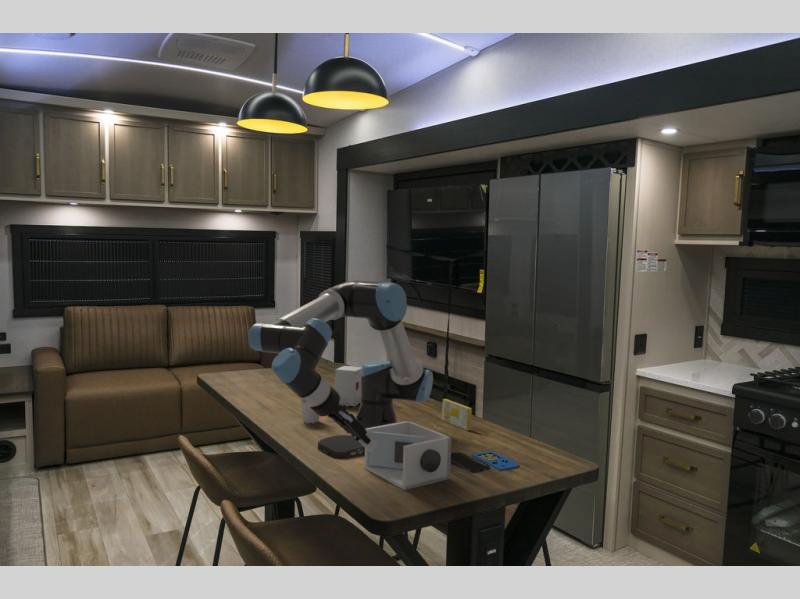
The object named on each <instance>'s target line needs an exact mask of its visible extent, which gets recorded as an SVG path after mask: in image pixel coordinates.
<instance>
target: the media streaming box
mask: <svg viewBox="0 0 800 599" xmlns="http://www.w3.org/2000/svg"><path fill="white" fill-rule="evenodd" d="M355 437H356V436H352V435H351V434H349V435H348V434H347V435H346V434H340V435H332V436H328V437H325V438H321V439H320V440H318V442H317V450H319V451H320V450H321V451H320V452H322V453H324V454H326V455H328V456H330V457H332V458H334V459H335V458H336V459H346V458H352V457H356V456H360V455H363V454H364V455H365V447H364V446H363V445H362V444H361V443H360V442H359V441H356V440H355V439H356V438H355Z"/></svg>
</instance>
